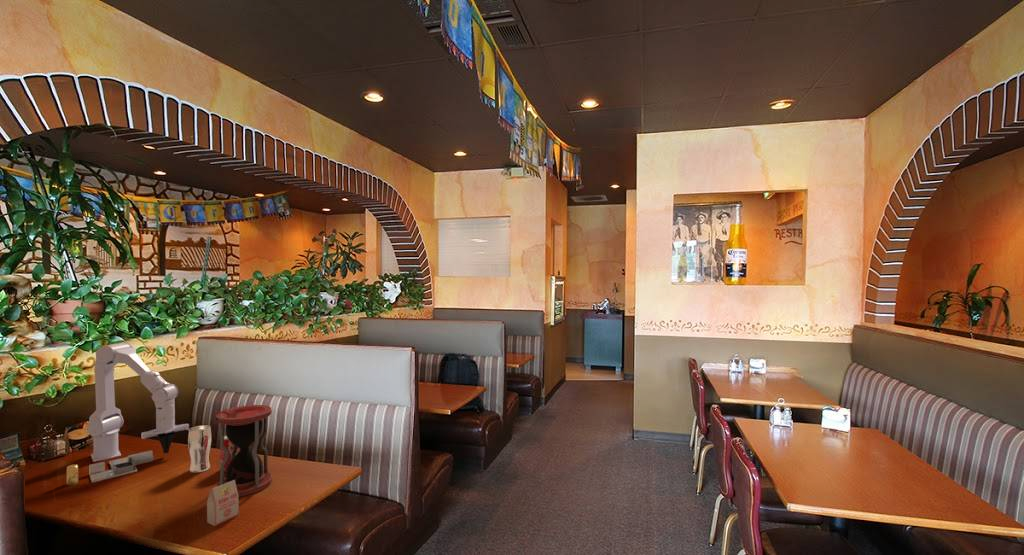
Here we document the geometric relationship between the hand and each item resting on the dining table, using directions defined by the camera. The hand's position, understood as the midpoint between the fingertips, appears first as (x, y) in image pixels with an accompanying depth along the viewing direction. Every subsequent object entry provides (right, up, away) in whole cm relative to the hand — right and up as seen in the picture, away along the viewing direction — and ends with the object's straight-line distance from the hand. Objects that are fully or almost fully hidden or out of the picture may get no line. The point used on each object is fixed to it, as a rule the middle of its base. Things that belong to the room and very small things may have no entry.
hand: (165, 452), depth 177 cm
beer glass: (+20, -2, -11) cm, 23 cm away
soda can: (+32, -2, -10) cm, 33 cm away
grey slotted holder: (-9, -2, -5) cm, 10 cm away
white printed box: (+50, -3, -44) cm, 66 cm away
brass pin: (-15, -2, -22) cm, 27 cm away
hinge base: (-8, -2, -14) cm, 16 cm away
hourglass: (+44, -3, -23) cm, 50 cm away
